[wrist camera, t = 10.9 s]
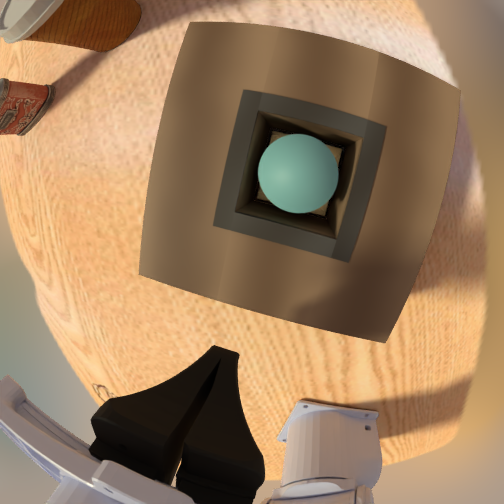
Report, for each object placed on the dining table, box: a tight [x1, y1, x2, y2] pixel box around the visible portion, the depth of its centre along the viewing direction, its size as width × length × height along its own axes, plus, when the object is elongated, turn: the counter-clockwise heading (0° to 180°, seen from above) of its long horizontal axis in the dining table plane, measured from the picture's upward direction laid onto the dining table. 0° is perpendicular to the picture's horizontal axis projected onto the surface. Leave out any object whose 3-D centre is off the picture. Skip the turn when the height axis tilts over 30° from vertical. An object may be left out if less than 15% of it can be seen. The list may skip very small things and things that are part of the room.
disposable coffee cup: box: [0, 0, 141, 52], centre depth 11 cm, size 10×10×12 cm
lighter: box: [0, 78, 55, 136], centre depth 16 cm, size 8×3×10 cm, turn 113°
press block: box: [139, 22, 461, 343], centre depth 16 cm, size 16×16×6 cm
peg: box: [258, 134, 338, 213], centre depth 15 cm, size 4×4×5 cm
